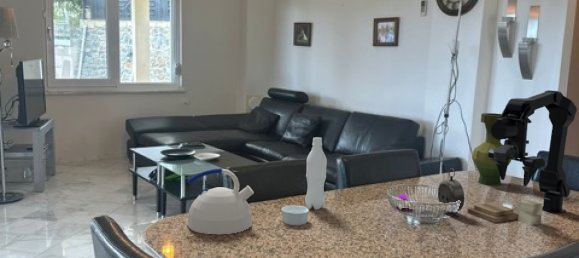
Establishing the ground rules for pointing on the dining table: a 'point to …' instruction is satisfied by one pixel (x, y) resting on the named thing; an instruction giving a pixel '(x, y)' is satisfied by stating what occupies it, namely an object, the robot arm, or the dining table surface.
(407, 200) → the crystal
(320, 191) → the water bottle
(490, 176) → the vase
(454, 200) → the alarm clock
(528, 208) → the block
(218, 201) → the kettle
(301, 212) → the ramekin
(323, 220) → the dining table surface
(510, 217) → the plinth
